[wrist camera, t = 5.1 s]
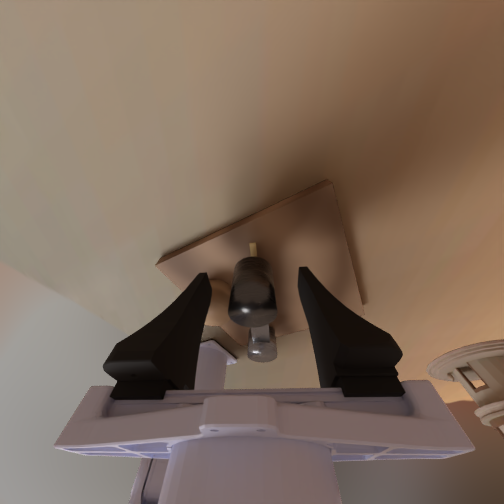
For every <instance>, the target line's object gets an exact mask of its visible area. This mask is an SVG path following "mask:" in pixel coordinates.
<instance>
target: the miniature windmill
mask: <svg viewBox="0 0 504 504" xmlns="http://www.w3.org/2000/svg"><path fill="white" fill-rule="evenodd" d="M426 371H427V373H428V374H429V375H430V376H431V377H433V378H436V379H440V380H446V381H453V382H460V383H461V384H462V386H463V387H464V388H465V389H466V391H467V392H468V393H469V394H470V396H471V397H472V398H473V400H474V401H475V402H476V403H477V405H478V406H479V407H480V408H478V409H477V410H476V411H475V412H474V413H475V415H476V416H477V417H480V419H481V422H482V424H483V425H486V426H492V427H493V428H494V429H495V430H497V431H498V432H499V433H500V434H501V436H502V437H503V438H504V340H495V341H489V342H482V343H477V344H473V345H469V346H465V347H462V348H459V349H456V350H454V351H451V352H448V353H446V354H444V355H442V356H440V357H438V358H437V359H435V360H434V361H433V362H431V363H430V364H429V365H428V367H427V370H426ZM480 379H481V380H482V381H483V382H484V383H485V384H486V385H484V386H481V387H478V388H475V386H474V385H473V384H472V383H471V382H470V381H473V380H480Z"/></svg>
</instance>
